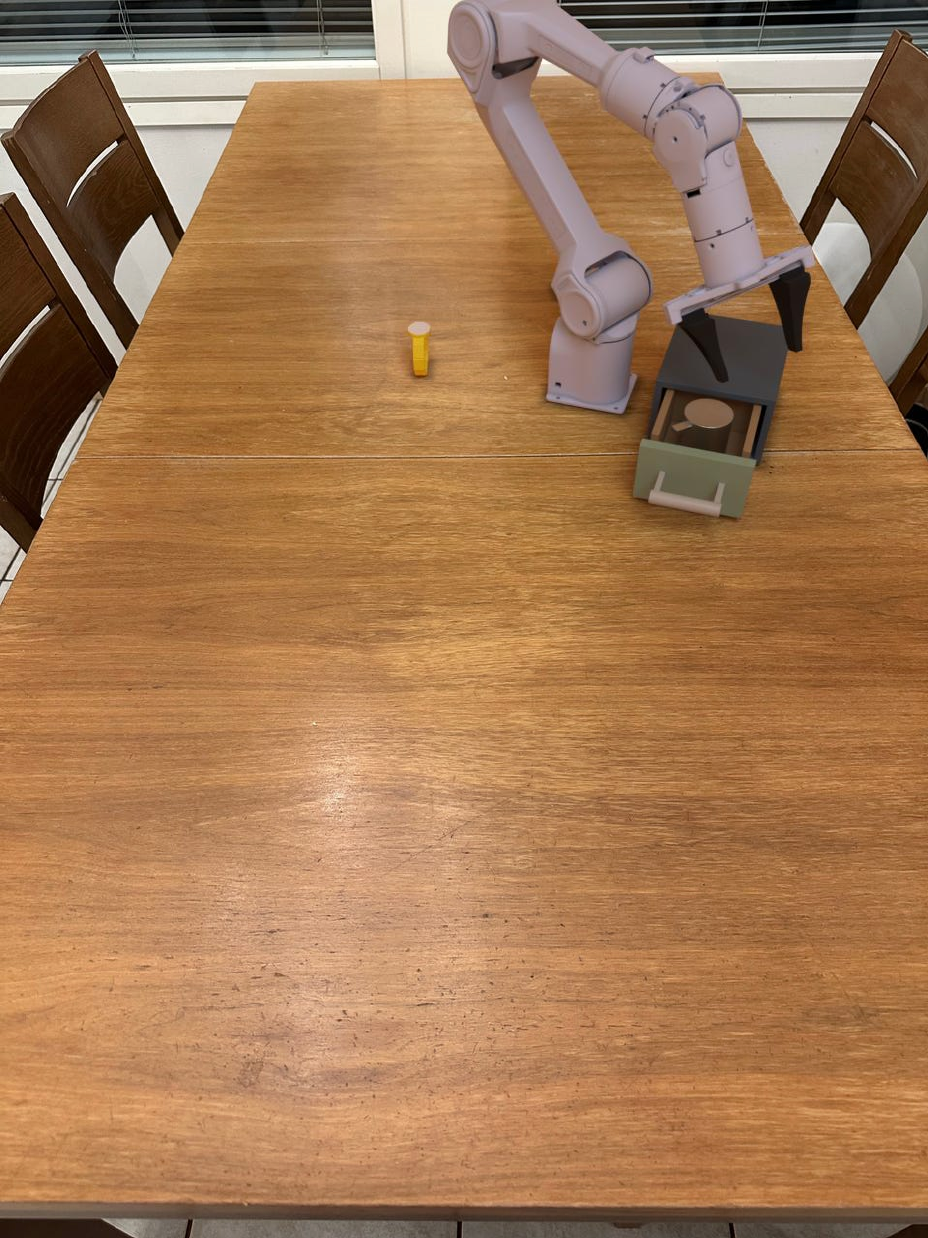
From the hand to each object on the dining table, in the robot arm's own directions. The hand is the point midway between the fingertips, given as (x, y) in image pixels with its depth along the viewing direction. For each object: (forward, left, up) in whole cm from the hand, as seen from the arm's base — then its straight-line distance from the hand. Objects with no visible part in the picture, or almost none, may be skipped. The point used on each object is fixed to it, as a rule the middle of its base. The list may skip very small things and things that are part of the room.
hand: (759, 365), depth 95 cm
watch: (-40, +7, -13) cm, 42 cm away
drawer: (-4, -5, -12) cm, 13 cm away
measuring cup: (-4, -3, -11) cm, 12 cm away
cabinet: (-4, +8, -13) cm, 16 cm away
